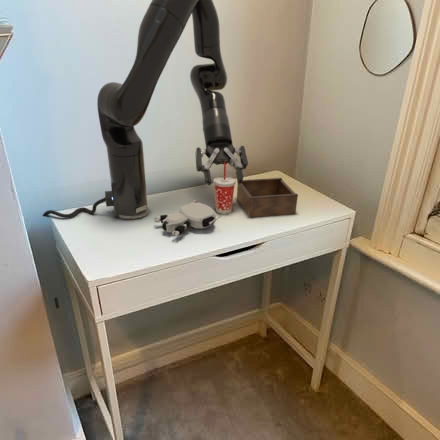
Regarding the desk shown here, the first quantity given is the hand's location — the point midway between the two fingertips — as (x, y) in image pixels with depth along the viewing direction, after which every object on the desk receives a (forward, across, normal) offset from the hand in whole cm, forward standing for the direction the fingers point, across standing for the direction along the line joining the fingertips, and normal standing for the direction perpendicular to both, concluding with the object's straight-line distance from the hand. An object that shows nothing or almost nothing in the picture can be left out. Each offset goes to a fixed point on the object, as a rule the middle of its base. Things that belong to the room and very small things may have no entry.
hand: (225, 183), depth 120 cm
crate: (+4, +13, +8) cm, 16 cm away
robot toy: (+12, -12, +1) cm, 17 cm away
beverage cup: (+5, 0, +7) cm, 9 cm away
